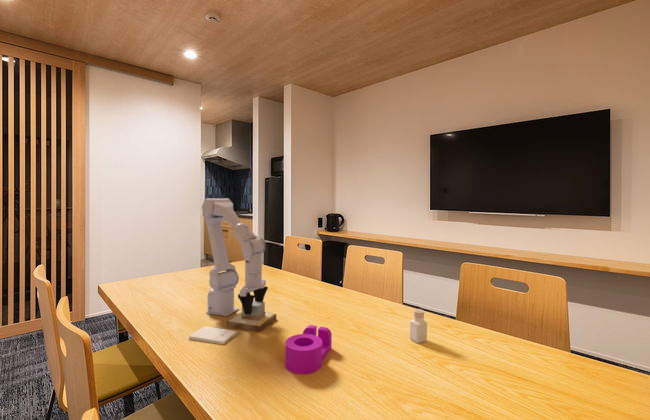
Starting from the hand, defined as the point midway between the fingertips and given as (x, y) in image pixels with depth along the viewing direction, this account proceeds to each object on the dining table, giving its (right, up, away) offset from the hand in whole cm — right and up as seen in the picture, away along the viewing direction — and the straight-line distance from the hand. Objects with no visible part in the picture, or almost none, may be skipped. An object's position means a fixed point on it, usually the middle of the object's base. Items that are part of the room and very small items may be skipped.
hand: (253, 310), depth 113 cm
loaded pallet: (0, -2, 0) cm, 2 cm away
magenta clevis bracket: (+21, -6, -24) cm, 32 cm away
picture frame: (0, -4, 0) cm, 4 cm away
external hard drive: (-10, -6, -11) cm, 16 cm away
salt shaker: (+55, -6, -12) cm, 56 cm away
